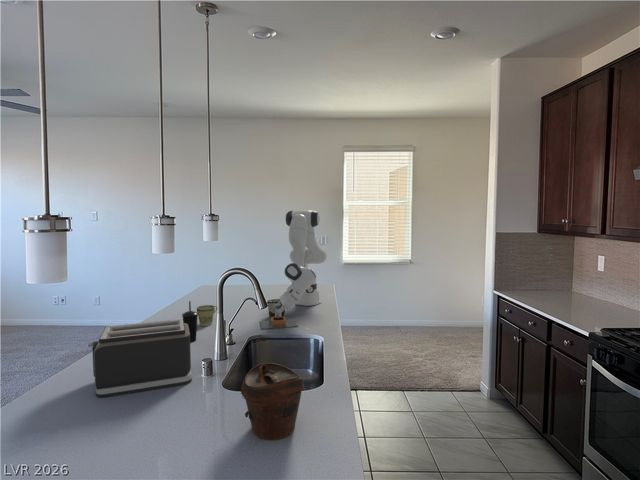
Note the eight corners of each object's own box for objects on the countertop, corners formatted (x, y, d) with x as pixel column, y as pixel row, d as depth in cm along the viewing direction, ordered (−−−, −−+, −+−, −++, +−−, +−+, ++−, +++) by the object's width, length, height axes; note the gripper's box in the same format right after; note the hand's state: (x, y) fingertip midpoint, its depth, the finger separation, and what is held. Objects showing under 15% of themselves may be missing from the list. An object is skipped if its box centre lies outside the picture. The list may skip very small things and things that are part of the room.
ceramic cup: (204, 327, 214) (203, 310, 213) (193, 324, 220) (192, 307, 219) (222, 322, 224) (222, 305, 224) (212, 319, 231) (211, 303, 230)
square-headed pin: (274, 323, 221) (274, 303, 220) (281, 322, 222) (281, 303, 221) (275, 324, 217) (275, 305, 217) (282, 324, 218) (282, 304, 217)
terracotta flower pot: (259, 406, 127) (258, 353, 125) (315, 419, 119) (315, 362, 117) (226, 436, 110) (225, 375, 109) (289, 453, 102) (288, 388, 101)
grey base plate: (259, 322, 224) (259, 316, 224) (293, 320, 229) (293, 314, 229) (261, 329, 211) (261, 323, 210) (297, 326, 215) (297, 320, 215)
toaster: (94, 378, 149) (92, 326, 147) (189, 365, 162) (188, 317, 160) (85, 401, 131) (82, 342, 129) (192, 384, 144) (191, 330, 142)
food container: (288, 314, 241) (288, 299, 240) (286, 317, 235) (286, 301, 234) (269, 314, 242) (268, 298, 242) (266, 316, 236) (266, 300, 235)
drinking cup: (179, 340, 192) (178, 301, 191) (194, 337, 198) (192, 298, 197) (187, 344, 187) (186, 303, 186) (201, 340, 193) (200, 301, 191)
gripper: (287, 285, 230) (271, 302, 228) (293, 292, 210) (275, 310, 209) (294, 292, 231) (278, 309, 230) (301, 299, 211) (283, 318, 210)
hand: (277, 310), depth 219 cm, fingers open, 8 cm apart
